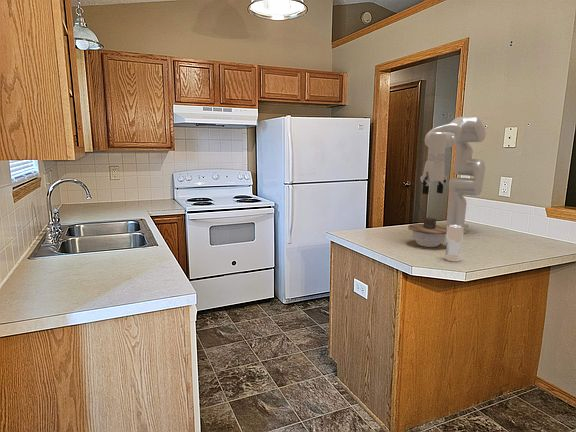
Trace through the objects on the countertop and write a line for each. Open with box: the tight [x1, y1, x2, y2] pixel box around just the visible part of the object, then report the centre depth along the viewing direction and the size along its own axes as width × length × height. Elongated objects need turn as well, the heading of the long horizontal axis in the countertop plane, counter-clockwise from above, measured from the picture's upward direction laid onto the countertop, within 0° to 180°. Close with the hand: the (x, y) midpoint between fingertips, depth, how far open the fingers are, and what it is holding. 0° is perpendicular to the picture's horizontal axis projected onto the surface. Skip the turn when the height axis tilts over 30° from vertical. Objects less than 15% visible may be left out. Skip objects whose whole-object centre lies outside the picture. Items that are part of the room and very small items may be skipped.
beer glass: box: [444, 225, 465, 263], centre depth 167 cm, size 7×7×15 cm
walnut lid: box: [407, 216, 447, 235], centre depth 191 cm, size 20×20×6 cm
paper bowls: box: [411, 231, 446, 248], centre depth 192 cm, size 15×15×8 cm
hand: (432, 193), depth 188 cm, fingers open, 9 cm apart
